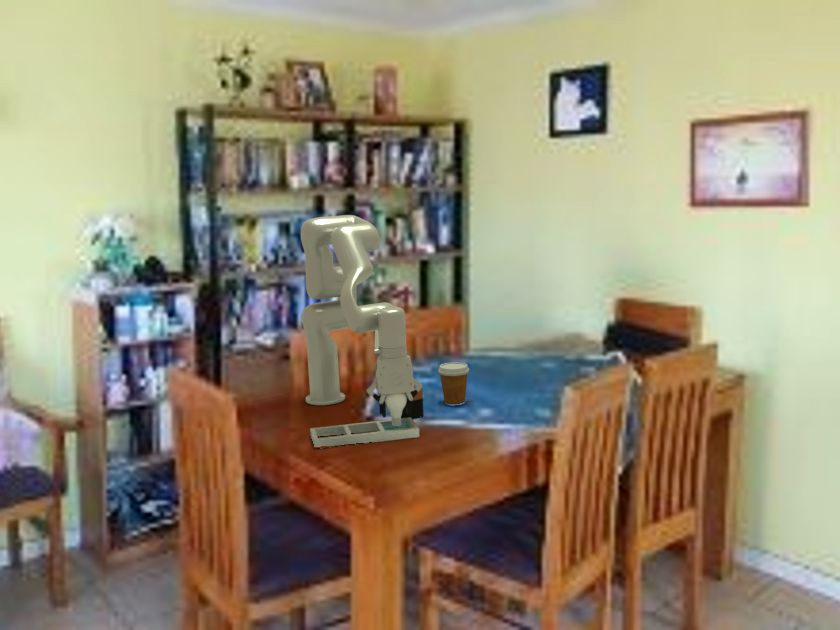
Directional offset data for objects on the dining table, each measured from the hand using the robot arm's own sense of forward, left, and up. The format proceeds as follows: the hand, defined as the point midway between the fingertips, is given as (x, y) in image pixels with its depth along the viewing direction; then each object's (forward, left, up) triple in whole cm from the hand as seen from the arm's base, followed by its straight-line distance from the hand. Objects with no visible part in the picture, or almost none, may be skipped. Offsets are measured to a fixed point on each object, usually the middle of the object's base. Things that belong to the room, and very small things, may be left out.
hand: (396, 414), depth 239 cm
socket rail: (0, -9, -6) cm, 11 cm away
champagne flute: (-51, +7, -6) cm, 52 cm away
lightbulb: (0, 0, -4) cm, 4 cm away
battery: (-13, +7, -6) cm, 16 cm away
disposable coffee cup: (-22, +23, -6) cm, 32 cm away
